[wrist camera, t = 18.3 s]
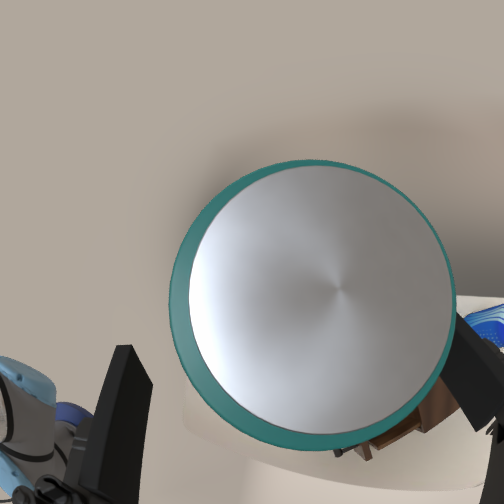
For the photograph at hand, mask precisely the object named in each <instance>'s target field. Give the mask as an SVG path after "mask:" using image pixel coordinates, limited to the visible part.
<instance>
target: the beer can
mask: <svg viewBox="0 0 504 504" xmlns="http://www.w3.org/2000/svg"><path fill="white" fill-rule="evenodd" d="M464 320H465V321H466V322H467V323H468V324H469V325H470V326H471V328H472V329H473V330H474V331H475V332H476V333H477V334H478V335H479V336H480V337H481V338H482V339H483V338H487V339H488V340H490V341H492V342H493V343H494V344H495V345H496V346H497V347H498V348H500V347H504V304H501V305H498V306H495V307H492V308H488V309H485V310H482V311H478V312H475V313H471V314H469V315H467V316H466V317H465V318H464Z"/></svg>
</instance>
